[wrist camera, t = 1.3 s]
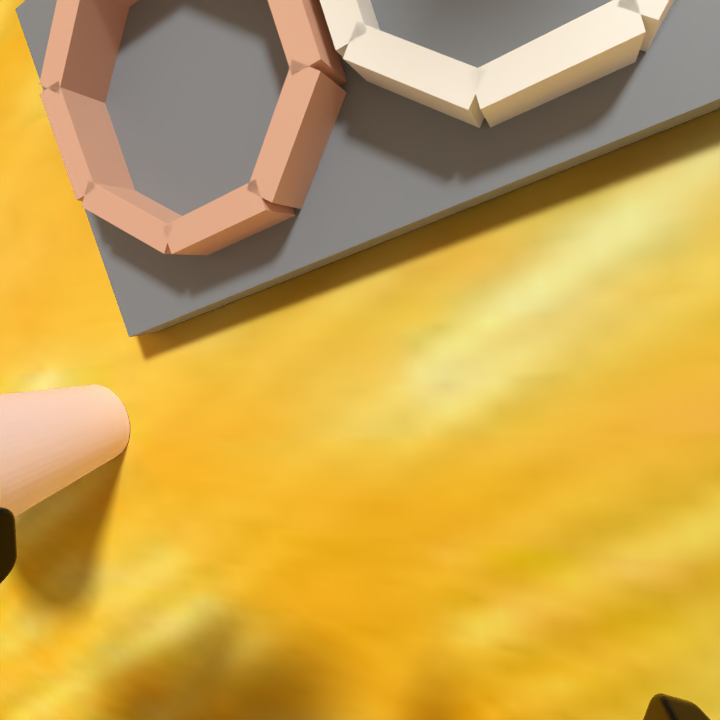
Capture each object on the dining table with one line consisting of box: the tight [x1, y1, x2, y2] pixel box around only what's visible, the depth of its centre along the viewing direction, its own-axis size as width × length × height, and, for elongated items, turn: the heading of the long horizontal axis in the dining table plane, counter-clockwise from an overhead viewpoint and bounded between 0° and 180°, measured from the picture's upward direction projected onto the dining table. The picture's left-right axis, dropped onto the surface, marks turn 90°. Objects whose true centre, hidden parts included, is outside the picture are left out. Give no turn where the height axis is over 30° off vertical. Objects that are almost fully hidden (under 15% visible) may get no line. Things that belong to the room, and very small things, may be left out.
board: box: [16, 0, 720, 337], centre depth 17 cm, size 14×24×4 cm, turn 110°
